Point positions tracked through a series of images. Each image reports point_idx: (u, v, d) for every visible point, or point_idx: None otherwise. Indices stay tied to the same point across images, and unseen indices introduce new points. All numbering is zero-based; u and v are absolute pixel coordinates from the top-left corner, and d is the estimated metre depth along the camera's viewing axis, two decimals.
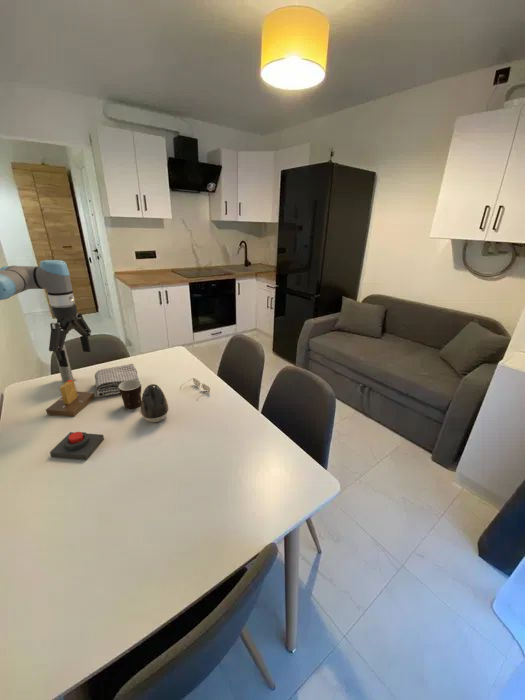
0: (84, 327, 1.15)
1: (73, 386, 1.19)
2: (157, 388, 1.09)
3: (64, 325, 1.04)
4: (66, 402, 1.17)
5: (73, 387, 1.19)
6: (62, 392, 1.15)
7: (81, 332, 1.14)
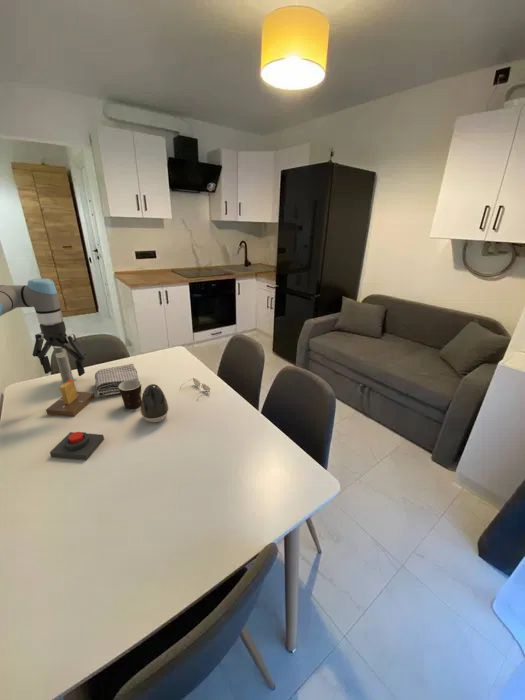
0: (40, 348, 1.11)
1: (73, 386, 1.19)
2: (157, 388, 1.09)
3: None
4: (66, 402, 1.17)
5: (73, 387, 1.19)
6: (62, 392, 1.15)
7: (46, 351, 1.11)
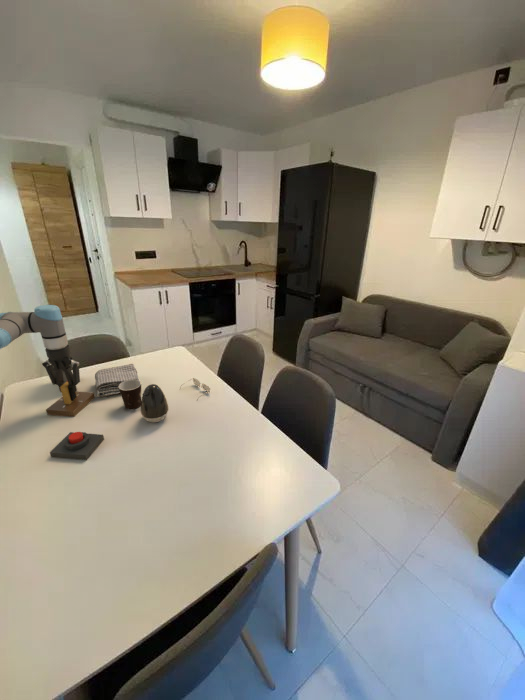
0: (55, 375, 1.15)
1: None
2: (157, 388, 1.09)
3: None
4: (67, 402, 1.17)
5: None
6: (63, 392, 1.15)
7: (62, 377, 1.15)
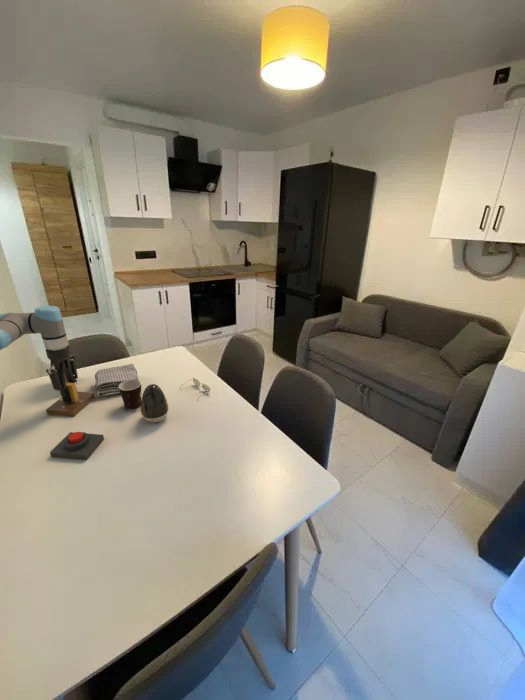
0: None
1: None
2: (157, 388, 1.09)
3: None
4: (77, 398, 1.19)
5: None
6: (74, 389, 1.17)
7: None
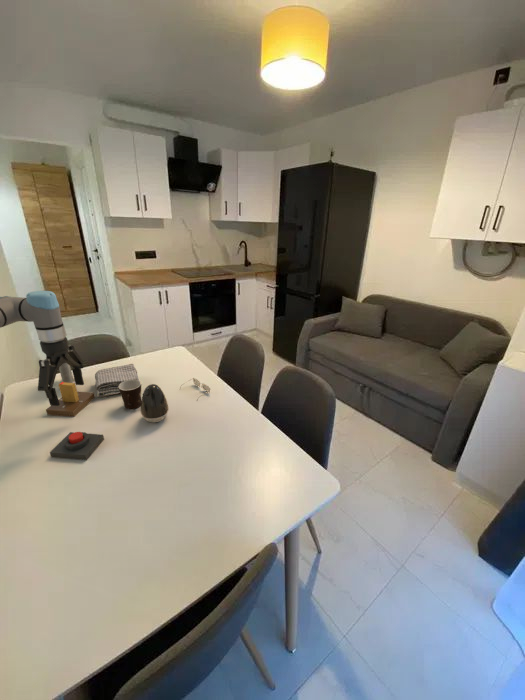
0: None
1: None
2: (157, 388, 1.09)
3: None
4: (77, 398, 1.19)
5: None
6: (74, 389, 1.17)
7: None
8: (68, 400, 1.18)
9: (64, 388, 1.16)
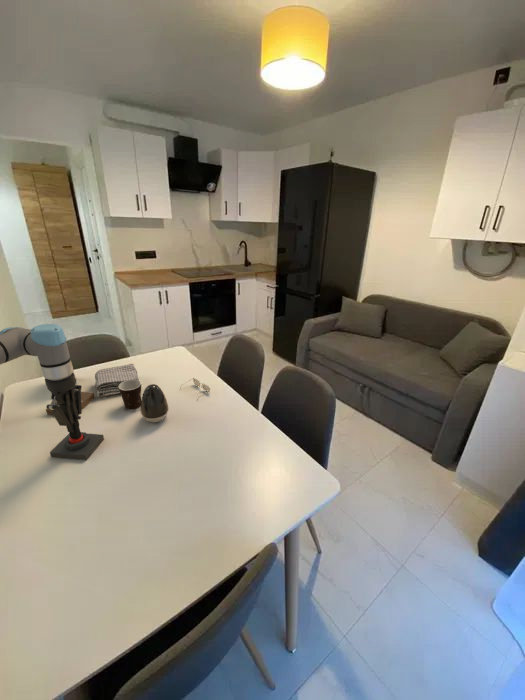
0: None
1: None
2: (157, 388, 1.09)
3: None
4: None
5: None
6: None
7: None
8: None
9: None
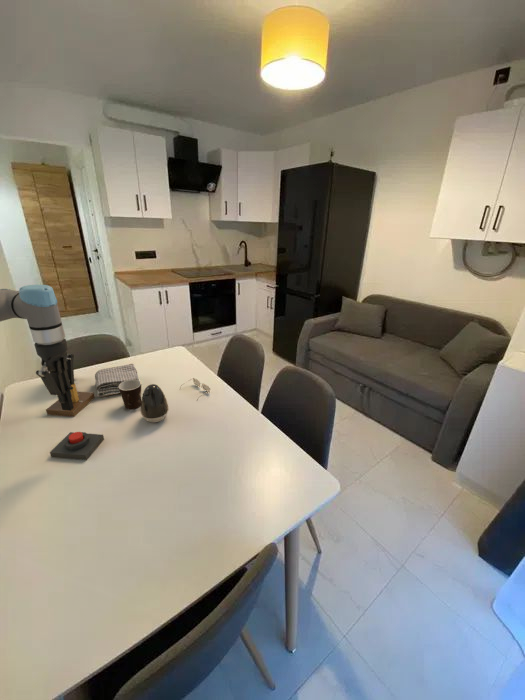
0: None
1: None
2: (157, 388, 1.09)
3: None
4: (77, 398, 1.19)
5: None
6: (74, 389, 1.17)
7: None
8: None
9: None
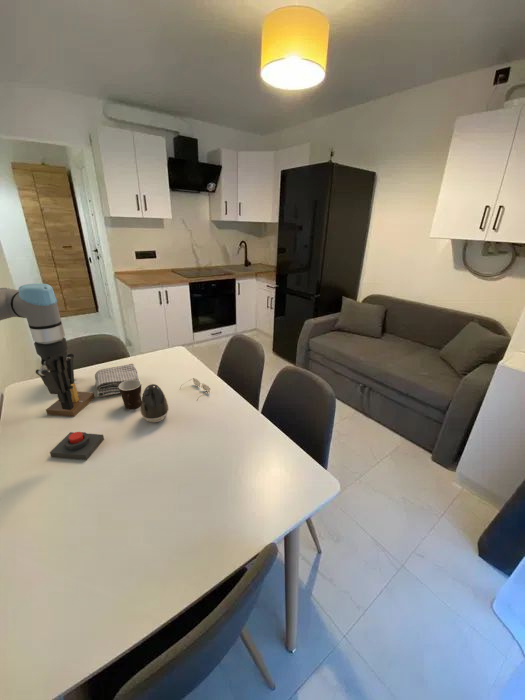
0: None
1: None
2: (157, 388, 1.09)
3: None
4: (77, 398, 1.19)
5: None
6: (74, 389, 1.17)
7: None
8: None
9: None
